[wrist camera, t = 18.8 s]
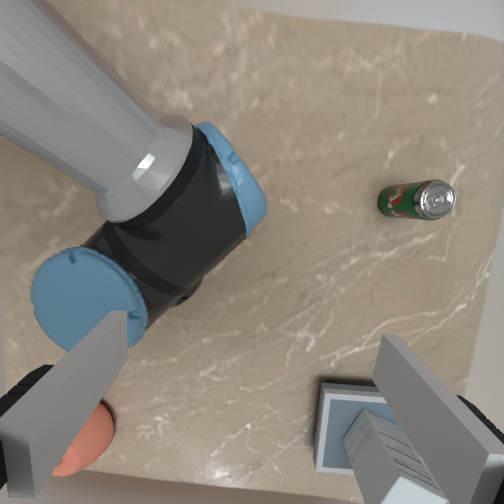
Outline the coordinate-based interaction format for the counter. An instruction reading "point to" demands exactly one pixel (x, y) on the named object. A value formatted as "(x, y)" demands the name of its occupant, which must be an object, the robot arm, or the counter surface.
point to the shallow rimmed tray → (343, 422)
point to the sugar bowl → (88, 443)
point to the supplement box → (388, 464)
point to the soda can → (418, 200)
